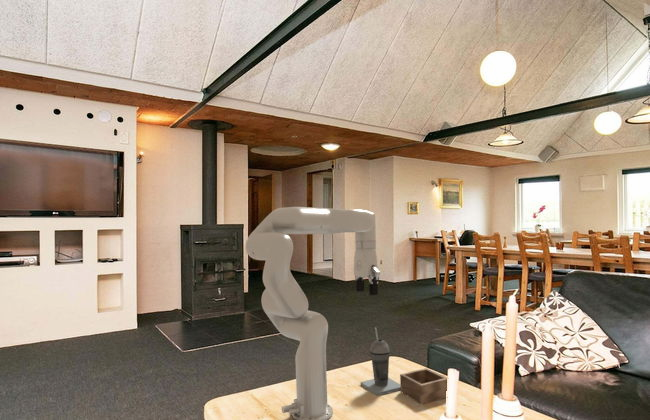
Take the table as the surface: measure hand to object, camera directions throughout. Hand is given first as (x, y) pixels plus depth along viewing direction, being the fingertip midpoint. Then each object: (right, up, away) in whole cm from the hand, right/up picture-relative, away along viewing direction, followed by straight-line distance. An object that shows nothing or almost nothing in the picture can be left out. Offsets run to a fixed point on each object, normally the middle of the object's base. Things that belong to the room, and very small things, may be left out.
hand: (366, 293), depth 148 cm
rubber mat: (+5, -33, -3) cm, 34 cm away
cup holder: (+19, -32, -10) cm, 39 cm away
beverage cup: (+5, -32, -3) cm, 33 cm away
